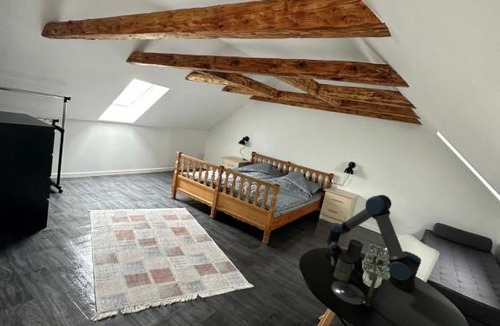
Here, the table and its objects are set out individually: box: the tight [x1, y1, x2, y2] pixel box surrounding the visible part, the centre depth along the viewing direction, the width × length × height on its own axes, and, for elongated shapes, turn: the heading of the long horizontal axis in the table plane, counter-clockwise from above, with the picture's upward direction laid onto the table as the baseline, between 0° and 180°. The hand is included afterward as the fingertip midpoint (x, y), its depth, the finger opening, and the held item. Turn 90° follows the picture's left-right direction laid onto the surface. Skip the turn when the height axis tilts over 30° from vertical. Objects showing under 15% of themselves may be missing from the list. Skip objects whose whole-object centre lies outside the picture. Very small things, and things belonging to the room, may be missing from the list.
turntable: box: [331, 280, 366, 306], centre depth 171 cm, size 20×20×1 cm
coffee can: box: [333, 253, 356, 283], centre depth 185 cm, size 10×10×14 cm
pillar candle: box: [345, 238, 364, 263], centre depth 212 cm, size 10×10×15 cm
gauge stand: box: [362, 271, 379, 308], centre depth 162 cm, size 5×4×19 cm
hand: (343, 266), depth 185 cm, fingers open, 13 cm apart
